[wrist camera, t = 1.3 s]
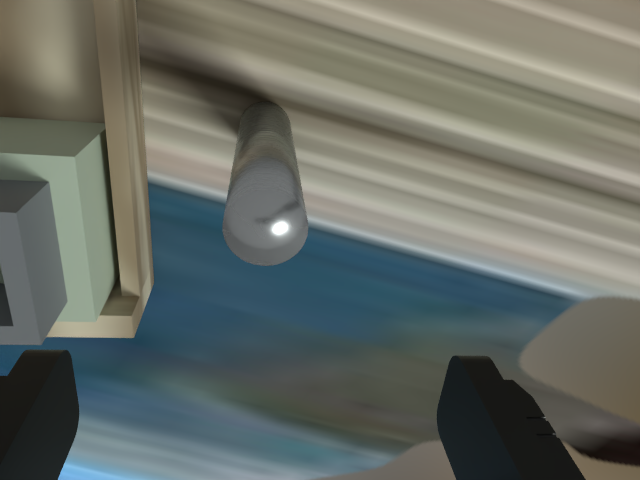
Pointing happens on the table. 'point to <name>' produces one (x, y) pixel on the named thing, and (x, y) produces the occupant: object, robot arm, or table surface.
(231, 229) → the peg
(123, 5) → the bay
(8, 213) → the square socket block
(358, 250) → the table surface
